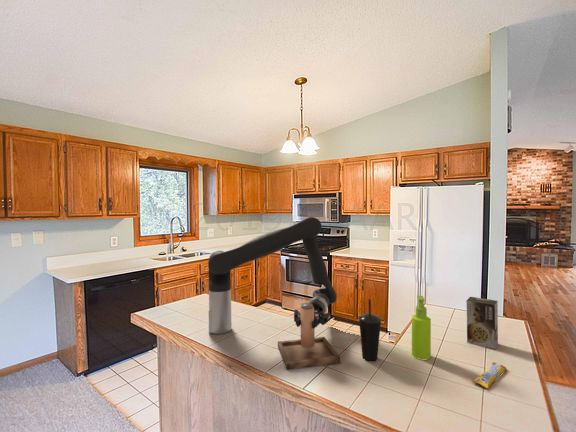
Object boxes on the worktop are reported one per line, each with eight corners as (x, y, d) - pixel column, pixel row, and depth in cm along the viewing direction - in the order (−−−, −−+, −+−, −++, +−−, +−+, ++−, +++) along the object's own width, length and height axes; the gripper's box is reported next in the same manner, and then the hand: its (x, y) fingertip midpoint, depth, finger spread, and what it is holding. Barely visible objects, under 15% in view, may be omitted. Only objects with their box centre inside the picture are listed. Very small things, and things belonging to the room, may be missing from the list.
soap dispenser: (429, 351, 103) (429, 295, 103) (431, 361, 96) (431, 300, 96) (411, 349, 105) (410, 293, 105) (412, 358, 98) (412, 299, 98)
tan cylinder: (299, 346, 100) (298, 306, 100) (302, 340, 105) (302, 302, 104) (312, 348, 99) (312, 307, 98) (315, 342, 103) (315, 303, 103)
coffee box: (498, 343, 108) (498, 300, 108) (495, 350, 104) (495, 304, 104) (470, 336, 115) (470, 295, 114) (466, 342, 110) (466, 299, 110)
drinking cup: (383, 365, 94) (382, 303, 94) (358, 362, 96) (358, 302, 96) (380, 353, 102) (380, 296, 102) (358, 351, 103) (357, 295, 103)
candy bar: (492, 366, 94) (492, 360, 94) (508, 371, 91) (508, 365, 91) (470, 385, 84) (470, 378, 84) (487, 392, 80) (487, 385, 80)
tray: (286, 369, 92) (286, 363, 92) (277, 347, 108) (277, 341, 108) (340, 363, 96) (340, 357, 96) (324, 342, 111) (324, 336, 111)
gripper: (298, 297, 117) (285, 311, 101) (334, 300, 113) (326, 315, 97) (299, 316, 117) (285, 333, 101) (334, 319, 113) (326, 338, 97)
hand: (305, 324), depth 99 cm, fingers closed on tan cylinder, 4 cm apart
